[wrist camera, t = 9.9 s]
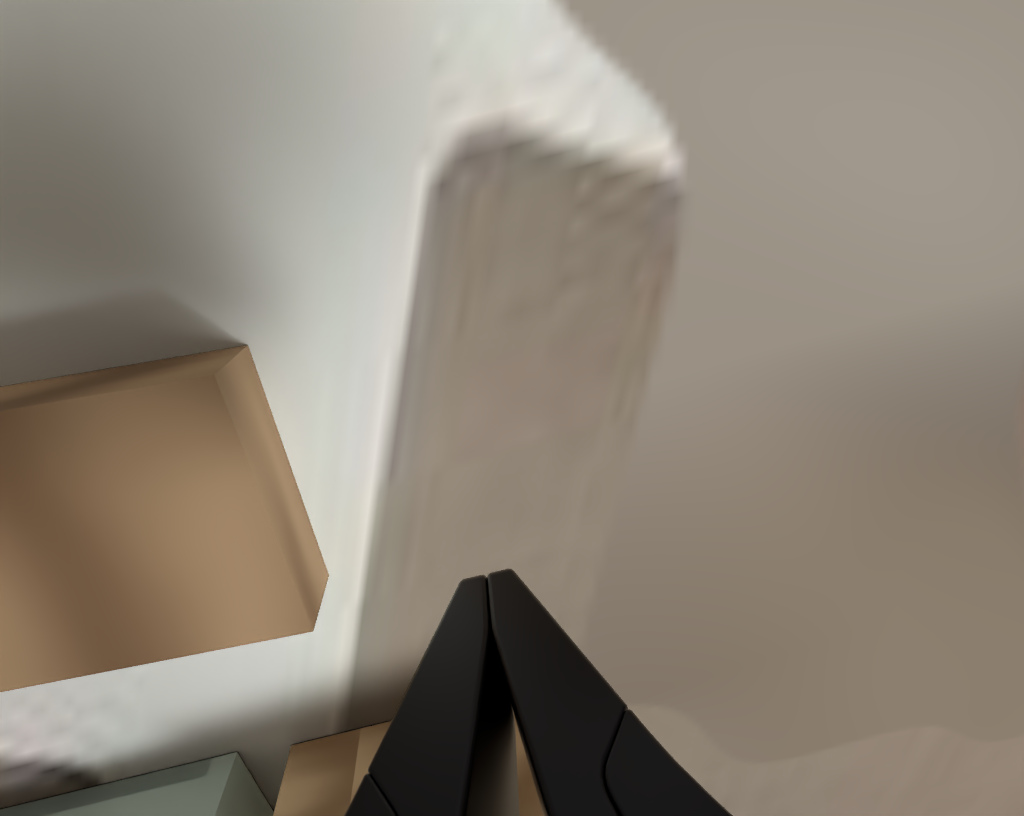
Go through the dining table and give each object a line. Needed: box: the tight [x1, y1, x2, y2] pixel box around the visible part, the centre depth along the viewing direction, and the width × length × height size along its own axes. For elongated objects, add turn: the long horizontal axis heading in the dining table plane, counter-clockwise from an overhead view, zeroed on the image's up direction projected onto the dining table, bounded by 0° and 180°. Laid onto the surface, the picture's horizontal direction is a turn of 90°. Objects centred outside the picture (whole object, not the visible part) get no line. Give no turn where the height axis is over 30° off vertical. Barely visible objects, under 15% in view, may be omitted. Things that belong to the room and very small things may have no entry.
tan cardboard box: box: [0, 345, 329, 692], centre depth 13 cm, size 8×7×2 cm
